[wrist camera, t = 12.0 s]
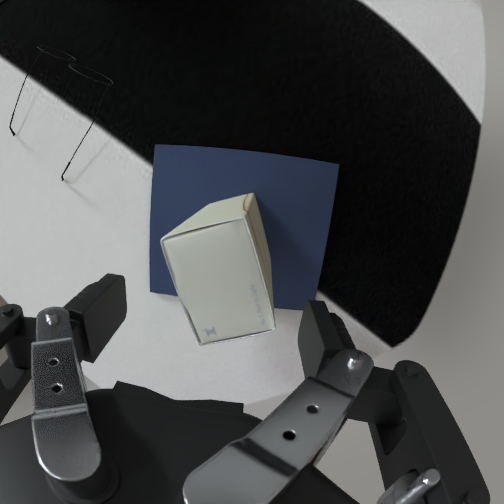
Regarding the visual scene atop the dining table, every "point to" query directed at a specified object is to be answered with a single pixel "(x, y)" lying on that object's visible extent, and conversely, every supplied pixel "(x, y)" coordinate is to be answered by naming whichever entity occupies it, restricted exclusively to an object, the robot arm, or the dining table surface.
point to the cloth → (269, 203)
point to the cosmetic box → (223, 270)
